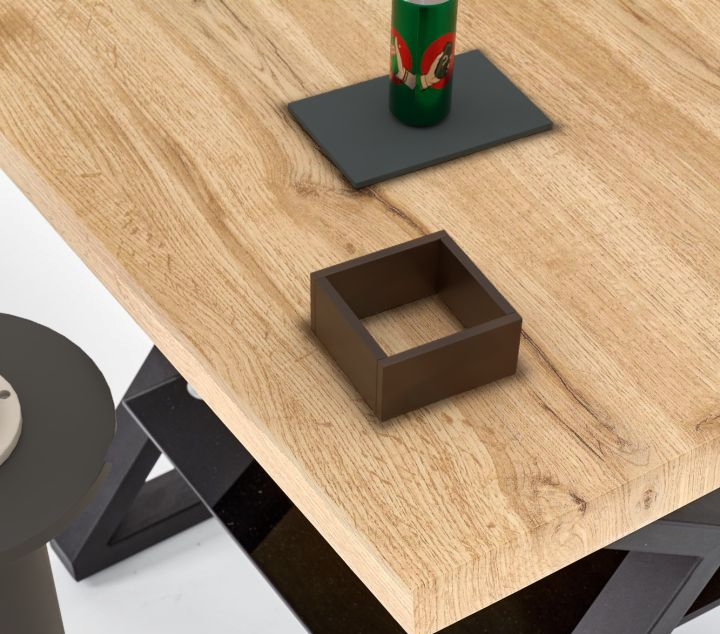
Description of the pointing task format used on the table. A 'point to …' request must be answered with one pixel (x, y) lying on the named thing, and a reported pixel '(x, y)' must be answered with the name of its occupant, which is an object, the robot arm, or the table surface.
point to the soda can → (422, 60)
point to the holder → (425, 362)
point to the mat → (417, 144)
